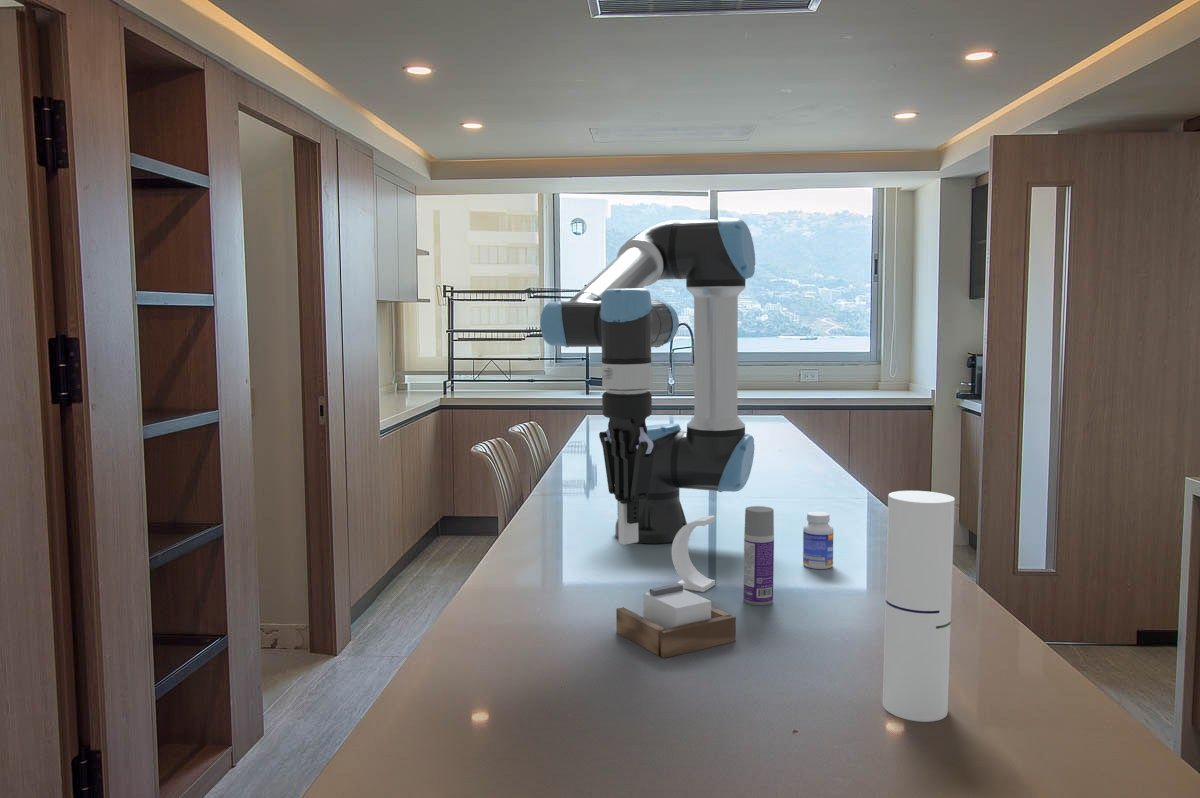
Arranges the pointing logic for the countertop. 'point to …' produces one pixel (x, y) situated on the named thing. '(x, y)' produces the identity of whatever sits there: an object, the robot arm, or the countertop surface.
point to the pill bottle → (818, 541)
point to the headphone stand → (682, 559)
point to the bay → (676, 632)
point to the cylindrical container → (918, 604)
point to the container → (758, 555)
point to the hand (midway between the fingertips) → (628, 542)
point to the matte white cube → (674, 606)
